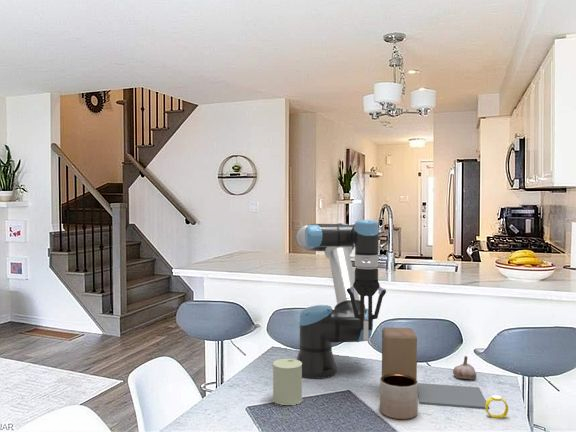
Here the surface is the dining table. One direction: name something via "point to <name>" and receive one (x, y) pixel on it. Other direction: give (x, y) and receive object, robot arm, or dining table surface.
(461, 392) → the mat
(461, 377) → the garlic bulb
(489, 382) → the dining table surface
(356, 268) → the robot arm
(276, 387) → the can
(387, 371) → the wooden block
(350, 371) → the dining table surface
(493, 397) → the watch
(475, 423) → the dining table surface
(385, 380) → the planter
